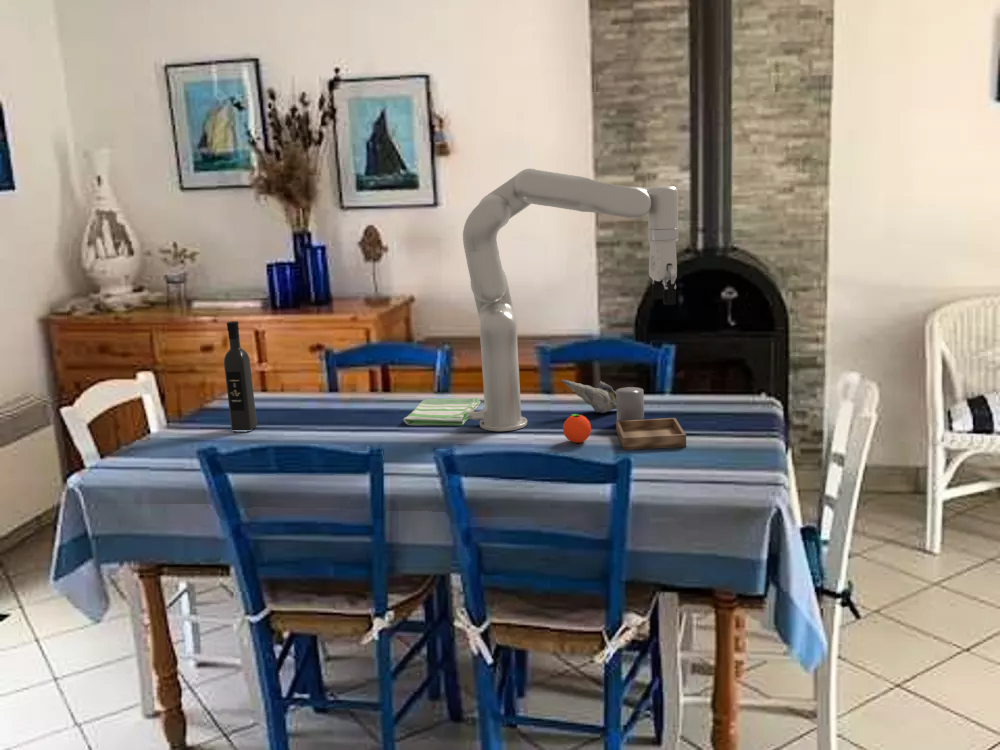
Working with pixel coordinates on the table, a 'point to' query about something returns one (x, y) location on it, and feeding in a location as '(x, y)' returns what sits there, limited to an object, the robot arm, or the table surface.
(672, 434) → the walnut tray
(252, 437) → the table surface
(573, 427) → the clementine
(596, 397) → the seashell
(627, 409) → the grey rounded cylinder
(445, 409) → the dish towel
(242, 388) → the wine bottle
